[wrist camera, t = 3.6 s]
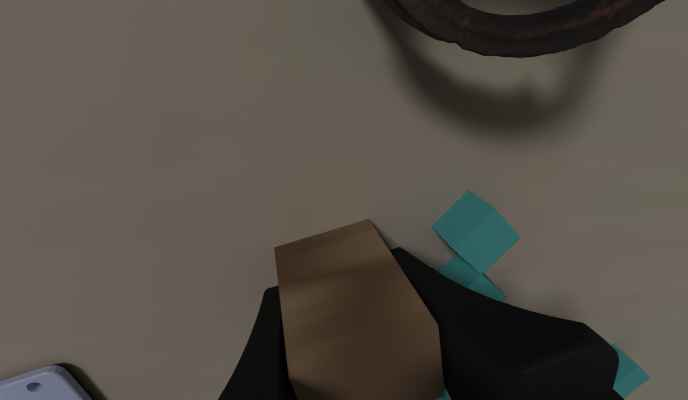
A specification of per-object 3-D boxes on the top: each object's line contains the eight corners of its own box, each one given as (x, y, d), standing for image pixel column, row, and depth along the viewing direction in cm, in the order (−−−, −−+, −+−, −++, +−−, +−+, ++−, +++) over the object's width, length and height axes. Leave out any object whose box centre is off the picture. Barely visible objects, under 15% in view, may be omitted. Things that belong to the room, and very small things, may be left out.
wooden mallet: (329, 404, 19) (360, 550, 13) (274, 247, 14) (288, 377, 8) (399, 379, 19) (455, 509, 14) (369, 219, 14) (438, 325, 9)
